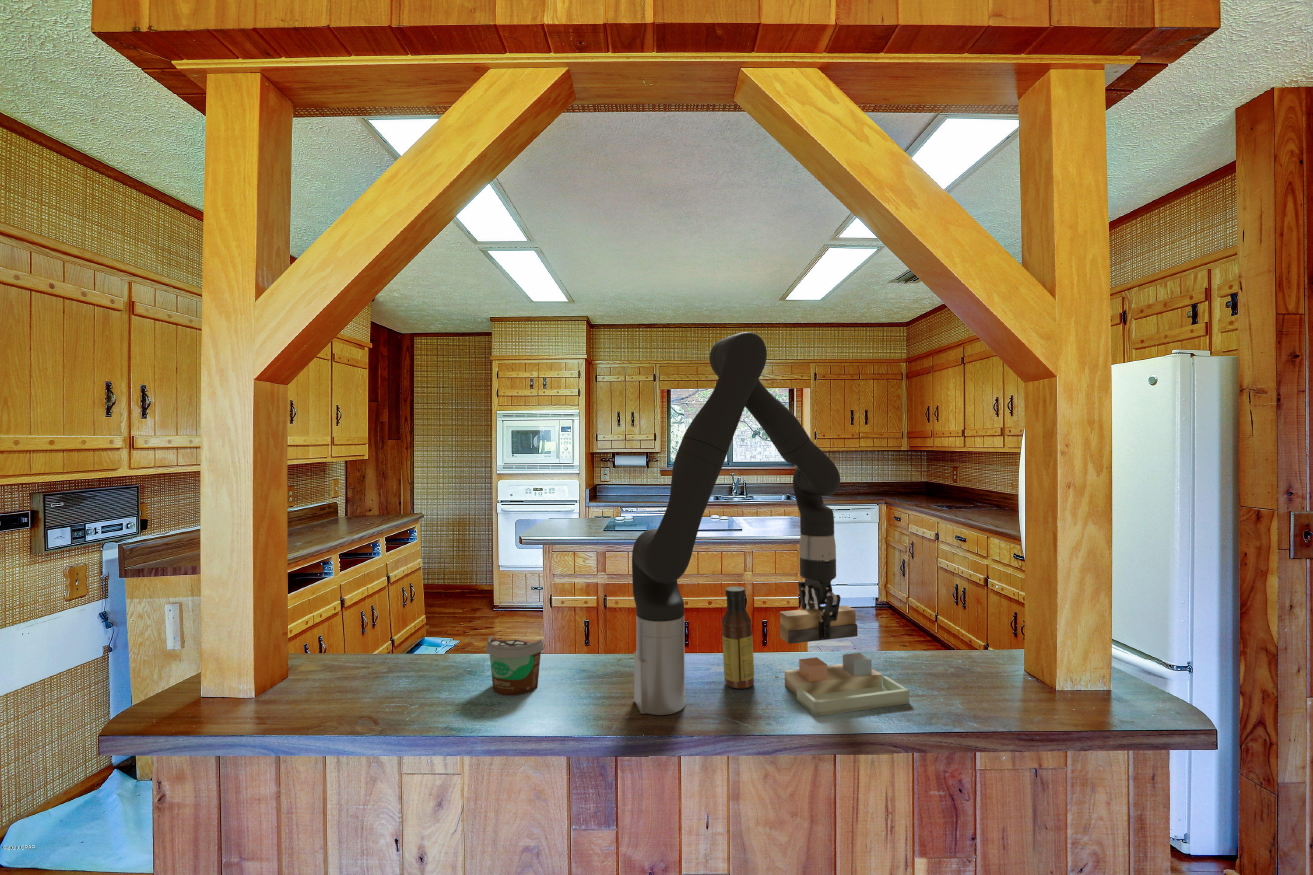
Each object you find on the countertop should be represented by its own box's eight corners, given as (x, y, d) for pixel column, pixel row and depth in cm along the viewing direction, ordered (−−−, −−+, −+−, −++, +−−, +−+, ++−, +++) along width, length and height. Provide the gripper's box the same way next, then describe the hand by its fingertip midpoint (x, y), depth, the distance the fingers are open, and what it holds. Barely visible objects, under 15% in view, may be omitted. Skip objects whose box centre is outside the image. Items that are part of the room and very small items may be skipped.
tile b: (854, 676, 117) (854, 661, 117) (843, 668, 121) (842, 654, 121) (871, 674, 118) (871, 659, 118) (859, 666, 122) (859, 652, 122)
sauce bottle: (753, 678, 124) (752, 584, 124) (755, 690, 117) (754, 592, 118) (722, 677, 124) (721, 584, 124) (722, 689, 118) (721, 591, 118)
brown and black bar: (789, 643, 120) (788, 617, 120) (780, 637, 124) (779, 611, 124) (857, 636, 124) (857, 610, 124) (846, 630, 128) (846, 605, 128)
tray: (815, 716, 106) (815, 702, 106) (796, 699, 113) (796, 687, 113) (909, 703, 111) (909, 690, 111) (886, 688, 118) (886, 676, 118)
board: (801, 699, 113) (801, 683, 113) (784, 684, 120) (784, 670, 120) (881, 688, 118) (881, 674, 118) (861, 675, 125) (861, 661, 125)
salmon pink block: (809, 681, 114) (809, 666, 114) (799, 673, 118) (799, 659, 118) (827, 679, 115) (827, 664, 115) (816, 671, 119) (816, 657, 119)
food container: (474, 694, 116) (474, 644, 117) (490, 682, 122) (489, 634, 123) (530, 700, 114) (530, 649, 114) (544, 688, 120) (544, 639, 120)
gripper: (786, 550, 131) (787, 627, 130) (819, 562, 117) (820, 648, 117) (816, 548, 132) (817, 623, 132) (852, 560, 119) (853, 644, 118)
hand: (819, 635), depth 124 cm, fingers closed on brown and black bar, 4 cm apart
